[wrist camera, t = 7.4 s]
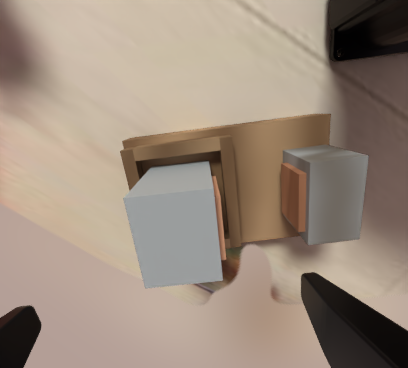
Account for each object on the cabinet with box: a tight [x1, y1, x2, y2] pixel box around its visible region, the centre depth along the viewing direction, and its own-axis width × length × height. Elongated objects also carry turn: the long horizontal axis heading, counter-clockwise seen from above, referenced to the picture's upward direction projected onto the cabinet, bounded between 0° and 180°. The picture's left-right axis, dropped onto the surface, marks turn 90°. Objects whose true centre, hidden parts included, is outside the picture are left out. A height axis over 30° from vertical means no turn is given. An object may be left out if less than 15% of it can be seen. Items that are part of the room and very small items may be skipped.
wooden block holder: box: [120, 114, 369, 249], centre depth 15 cm, size 14×9×6 cm, turn 97°
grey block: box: [123, 160, 226, 288], centre depth 13 cm, size 4×5×6 cm
